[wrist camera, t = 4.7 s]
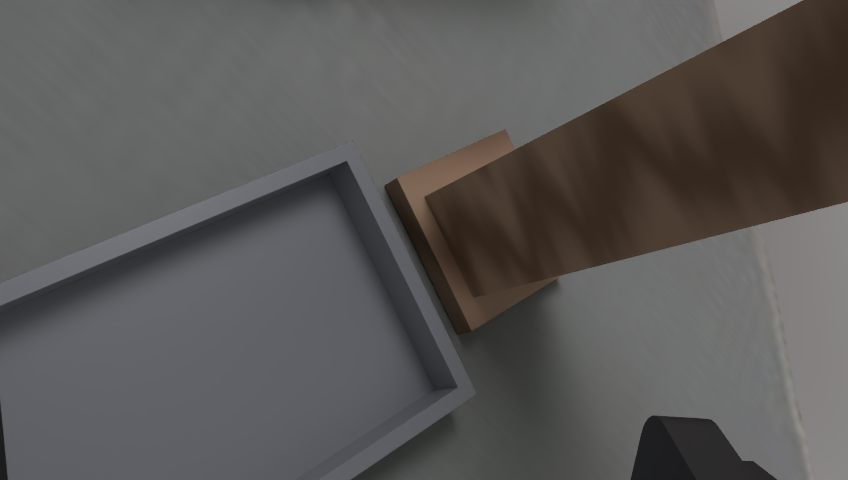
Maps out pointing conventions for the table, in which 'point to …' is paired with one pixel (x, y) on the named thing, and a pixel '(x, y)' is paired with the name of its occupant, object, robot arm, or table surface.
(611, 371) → the table surface
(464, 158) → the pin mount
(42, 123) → the table surface
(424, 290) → the parts tray
